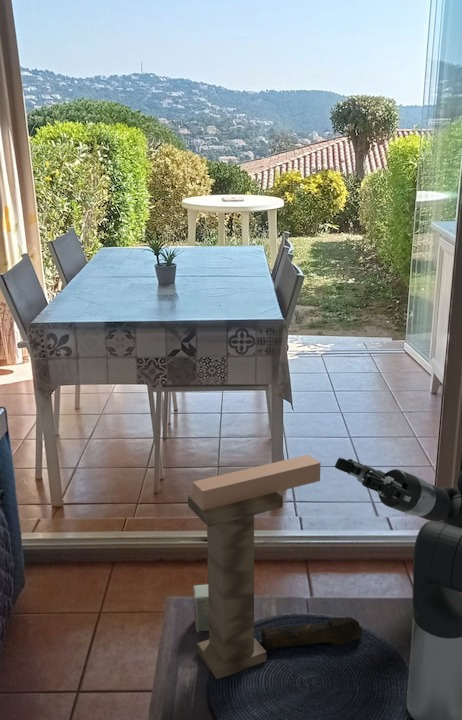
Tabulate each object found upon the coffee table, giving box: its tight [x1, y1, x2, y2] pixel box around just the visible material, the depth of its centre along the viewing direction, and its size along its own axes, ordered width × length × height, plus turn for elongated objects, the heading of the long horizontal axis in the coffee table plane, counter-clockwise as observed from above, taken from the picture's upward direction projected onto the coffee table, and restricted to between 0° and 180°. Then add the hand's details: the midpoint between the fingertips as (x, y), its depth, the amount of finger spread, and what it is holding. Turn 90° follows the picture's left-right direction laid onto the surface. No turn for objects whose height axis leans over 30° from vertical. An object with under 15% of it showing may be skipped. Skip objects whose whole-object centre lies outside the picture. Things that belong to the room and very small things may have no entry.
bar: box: [191, 454, 322, 511], centre depth 126 cm, size 23×4×4 cm, turn 118°
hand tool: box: [261, 616, 363, 652], centre depth 136 cm, size 19×4×5 cm, turn 95°
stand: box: [187, 492, 284, 680], centre depth 129 cm, size 14×8×32 cm, turn 118°
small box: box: [193, 583, 209, 632], centre depth 141 cm, size 5×4×8 cm
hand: (351, 471), depth 136 cm, fingers open, 8 cm apart
